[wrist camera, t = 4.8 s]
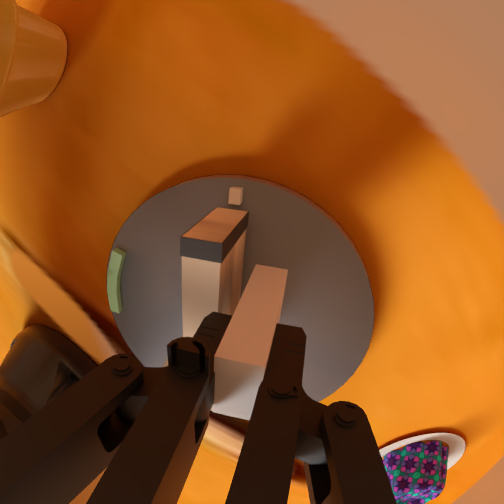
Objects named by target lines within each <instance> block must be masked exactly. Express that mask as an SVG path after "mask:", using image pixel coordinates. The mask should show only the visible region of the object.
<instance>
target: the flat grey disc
mask: <svg viewBox="0 0 504 504" xmlns="http://www.w3.org/2000/svg"><path fill="white" fill-rule="evenodd" d="M216 207H222V208H229V209H236V210H243V211H249V218H248V227H247V228H246V238H245V249H244V260H243V271H242V282H241V293H240V299H241V296H242V294H243V292H244V290H245V288H246V285H247V283H248V281H249V279H250V277H251V274H252V272H253V270H254V268H255V265H256V264H258V265H264V266H270V267H276V268H281V269H287V270H288V273H287V279H286V285H285V291H284V297H283V303H282V309H281V314H280V320H279V324H285V325H290V326H296V327H302V328H303V330H304V332H305V334H306V336H307V338H306V349H305V359H304V369H303V378H302V386H303V389H304V391H305V392H306V394H307V395H308V396H309V397H310V398H312V399H313V400H315V401H317V402H319V401H321V400H323V399H324V398H326V397H327V396H329V395H331V394H332V393H334V392H335V391H336V390H337V389H339V388H340V387H341V386H342V385H344V383H345V382H346V381H347V380H348V379H349V378H350V377H351V376H352V375H353V374H354V372H355V371H356V369H357V368H358V367H359V365H360V364H361V362H362V360H363V358H364V356H365V354H366V352H367V350H368V347H369V344H370V340H371V337H372V333H373V325H374V300H373V295H372V291H371V286H370V282H369V278H368V274H367V271H366V268H365V266H364V263H363V261H362V258H361V256H360V254H359V252H358V250H357V249H356V247H355V245H354V243H353V242H352V240H351V238H350V237H349V236H348V235H347V233H346V232H345V231H344V230H343V228H342V227H341V226H340V225H339V223H338V222H337V221H336V220H335V219H334V218H332V217H331V216H330V215H329V214H328V213H327V212H326V211H325V210H324V209H323V208H321V207H320V206H319V205H317V204H316V203H314V202H313V201H311V200H310V199H309V198H307V197H306V196H304V195H302V194H300V193H298V192H296V191H294V190H292V189H290V188H288V187H286V186H283V185H281V184H278V183H275V182H272V181H269V180H266V179H261V178H256V177H251V176H246V175H229V174H222V175H211V176H204V177H199V178H195V179H191V180H187V181H185V182H182V183H180V184H178V185H175V186H173V187H171V188H168V189H166V190H164V191H162V192H160V193H158V194H156V195H155V196H153V197H152V198H150V199H149V200H147V201H145V202H144V203H143V204H142V205H141V206H140V207H139V208H137V209H136V210H135V211H134V212H133V213H132V214H131V215H130V217H129V218H128V219H127V220H126V222H125V223H124V224H123V226H122V227H121V229H120V231H119V233H118V234H117V236H116V238H115V241H114V243H113V246H112V249H111V251H110V256H109V261H108V266H107V293H108V300H109V306H110V311H112V314H113V317H114V320H115V322H116V324H117V327H118V329H119V331H120V333H121V335H122V337H123V338H124V340H125V342H126V343H127V345H128V347H129V348H130V349H131V351H132V352H133V353H134V355H135V356H136V357H137V358H138V360H139V361H140V362H141V363H142V364H143V365H144V366H145V367H163V364H164V363H165V361H166V360H167V358H168V356H167V344H169V343H170V342H171V341H172V340H174V339H177V338H180V337H181V336H182V335H183V319H182V256H180V236H182V235H183V234H184V233H185V232H186V231H188V230H189V229H190V228H191V227H192V226H194V225H195V224H196V223H197V222H199V221H200V220H201V219H202V218H203V217H205V216H206V215H207V214H208V213H210V212H211V211H212V210H213V209H215V208H216Z"/></svg>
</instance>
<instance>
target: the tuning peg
mask: <svg viewBox="0 0 504 504" xmlns="http://www.w3.org/2000/svg"><path fill="white" fill-rule="evenodd" d="M248 218H249V211H243V210H236V209H229V208H222V207H216V208H215V209H213V210H212V211H211V212H210V213H208V214H207V215H206V216H205V217H203V218H202V219H201V220H200V221H199V222H197V223H196V224H195V225H194V226H192V227H191V228H190V229H189V230H188V231H186V232H185V233H184V234H183V235H182V236H180V256H182V319H183V335H182V336H181V337H193V336H194V334H196V331H197V329H198V327H199V326H200V324H201V322H202V321H203V319H204V317H206V316H207V315H209V314H210V313H212V312H218V313H223V314H228V315H233V314H234V312H235V310H236V307H237V305H238V303H239V301H240V293H241V282H242V271H243V260H244V249H245V238H246V228H247V227H248ZM166 366H168V358H167V360H166V361H165V363H164V364H163V367H166ZM211 410H213V405H212V408H211Z"/></svg>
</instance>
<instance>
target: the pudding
mask: <svg viewBox="0 0 504 504" xmlns="http://www.w3.org/2000/svg"><path fill="white" fill-rule="evenodd" d="M423 440H439V441H430V442H427V443H423V442H418V441H423ZM440 441H443V442H445V443H447V444H448V445H449V448H448V447H447V446H442V442H440ZM413 442H414V443H413ZM409 443H411V444H409ZM406 444H408V445H406ZM403 445H406V446H405V447H403V448H402V449H398V450H394V449H396V448H398V447H401V446H403ZM465 446H466V444H465V441H464V440H463V438H462V437H460V436H458V435H455V434H452V433H431V434H424V435H419V436H414V437H411V438H408V439H404V440H401V441H398V442H396V443H393V444H391V445H388V446H386V447H384V448H382V449H380V450H379V452H380V454H381V457H382V456H384V455H385V454H386V455H385V456H384V460H383V463H384V466H385V469H386V472H387V475H388V478H389V481H390V484H391V487H392V490H393V493H394V496H395V499H396V502H397V504H424V503H427V502H428V501H429V500H432V499H435V498H436V497H438V496H439V495H440V493H441V492H442V490H443V489H444V486H445V482H446V474H447V470H448V469H449V468H450V467H452V466H453V465H454V464H455V463H456V462H457V461H458V460H459V459H460V458H461V456H462V455H463V453H464V451H465ZM392 450H393V451H392ZM390 451H391V452H390ZM448 451H449V453H448ZM388 452H389V453H388Z"/></svg>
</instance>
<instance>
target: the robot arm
mask: <svg viewBox="0 0 504 504" xmlns="http://www.w3.org/2000/svg"><path fill="white" fill-rule="evenodd" d="M287 273H288V270H287V269H281V268H276V267H270V266H264V265H258V264H256V265H255V268H254V270H253V272H252V274H251V277H250V279H249V281H248V283H247V285H246V288H245V290H244V292H243V294H242V296H241V299H240V301H239V303H238V305H237V307H236V310H235V312H234V314H233V315H228V314H223V313H218V312H212V313H210V314H209V315H207V316H206V317H204V319H203V321H202V322H201V324H200V326H199V327H198V329H197V331H196V334H194V336H193V337H180V338H177V339H174V340H172V341H171V342H170V343H169V344H167V356H168V366H166V367H142V365H141V362H140V361H139V360H138V359H137V358H136V357H134V356H132V355H129V354H118V355H113V356H112V357H110V358H108V359H106V360H105V361H104V362H102V363H101V364H100V365H98V366H96V365H95V364H94V362H93V361H92V360H91V359H90V358H89V357H88V356H87V355H86V354H85V353H84V352H83V351H81V350H80V349H79V348H78V347H77V346H76V345H75V344H73V343H72V342H71V341H70V340H68V339H67V338H66V337H64V336H63V335H61V334H59V333H58V332H56V331H54V330H52V329H50V328H48V327H46V326H43V325H38V324H33V325H29V326H27V327H26V328H25V329H24V330H23V331H21V332H20V333H19V334H18V335H17V336H16V337H15V338H14V340H13V342H12V344H11V347H10V350H9V352H8V354H7V355H6V357H5V359H4V360H3V362H2V364H1V366H0V504H69V503H70V502H71V501H72V500H73V499H74V498H75V497H76V496H77V495H78V494H79V493H80V492H82V491H83V490H84V489H85V488H86V487H87V486H88V485H89V484H90V483H91V482H92V481H93V480H94V479H95V478H96V477H97V476H98V475H99V474H100V473H101V472H102V471H103V470H104V469H105V468H106V467H107V469H106V471H105V472H104V474H103V476H102V477H101V479H100V481H99V482H98V484H97V486H96V488H95V489H94V491H93V493H92V494H91V496H90V498H89V500H88V502H87V503H86V504H177V501H178V499H179V496H180V494H181V492H182V489H183V487H184V484H185V482H186V479H187V477H188V474H189V472H190V469H191V467H192V464H193V462H194V459H195V457H196V454H197V452H198V449H199V446H200V444H201V441H202V439H203V436H204V434H205V431H206V429H207V426H208V422H209V413H210V410H211V408H212V405H213V412H216V413H220V414H224V415H228V416H232V417H237V418H241V419H246V420H250V421H249V425H248V428H247V432H246V435H245V439H244V442H243V446H242V449H241V453H240V456H239V460H238V463H237V466H236V470H235V473H234V476H233V480H232V483H231V486H230V490H229V493H228V496H227V499H226V502H225V504H287V500H288V495H289V489H290V483H291V477H292V470H293V464H294V457H295V458H297V459H299V460H301V461H304V468H305V474H306V480H307V486H308V492H309V498H310V504H397V502H396V499H395V496H394V493H393V490H392V487H391V484H390V481H389V478H388V475H387V472H386V469H385V466H384V463H383V460H382V457H381V454H380V452H379V449H378V446H377V443H376V440H375V437H374V435H373V432H372V429H371V426H370V424H369V421H368V418H367V415H366V414H365V412H364V411H363V409H362V408H360V407H359V406H358V405H356V404H354V403H351V402H347V401H338V402H334V403H332V404H330V405H329V406H326V405H324V404H321V403H319V402H317V401H315V400H313V399H312V398H310V397H309V396H308V395H307V394H306V392H305V391H304V389H303V386H302V378H303V369H304V359H305V349H306V338H307V336H306V334H305V332H304V330H303V328H302V327H296V326H290V325H285V324H279V320H280V314H281V309H282V303H283V297H284V291H285V285H286V279H287Z"/></svg>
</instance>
